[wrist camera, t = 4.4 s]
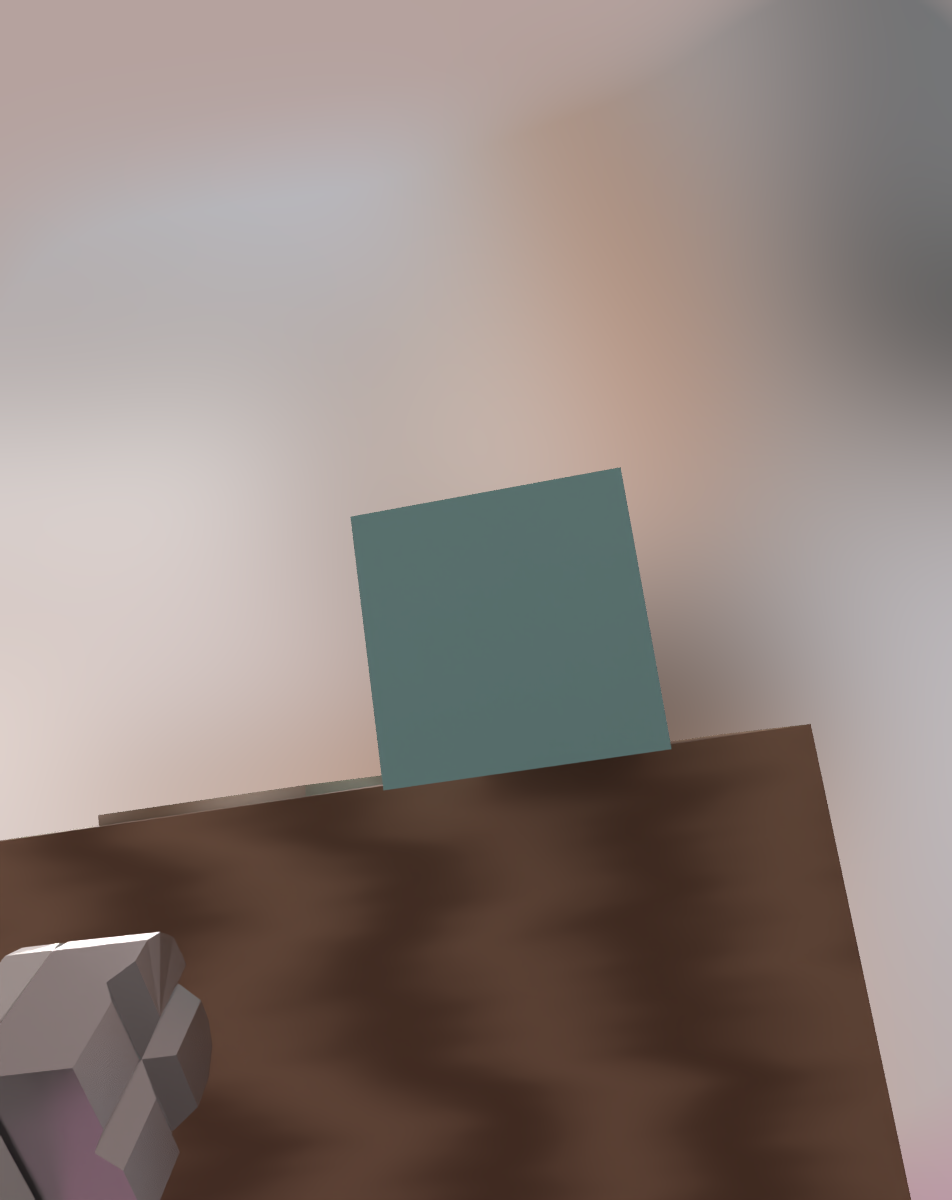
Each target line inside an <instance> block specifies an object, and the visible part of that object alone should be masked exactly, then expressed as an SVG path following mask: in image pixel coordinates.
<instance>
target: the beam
mask: <svg viewBox="0 0 952 1200" xmlns="http://www.w3.org/2000/svg"><path fill="white" fill-rule="evenodd" d="M351 524H352V532H353V540H354V549H355V556H356V565H357V574H358V582H359V591H360V599H361V607H362V615H363V624H364V632H365V641H366V648H367V657H368V666H369V673H370V682H371V691H372V699H373V706H374V716H375V724H376V732H377V740H378V748H379V757H380V765H381V774H382V782H383V790H390V789H397V788H404V787H411V786H418V785H425V784H431V783H438V782H445V781H452V780H459V779H466V778H473V777H480V776H487V775H494V774H501V773H508V772H515V771H522V770H529V769H536V768H543V767H550V766H557V765H564V764H571V763H578V762H585V761H592V760H599V759H606V758H613V757H620V756H627V755H634V754H641V753H648V752H655V751H662V750H669V749H671V744H670V738H669V733H668V727H667V722H666V716H665V711H664V705H663V700H662V694H661V688H660V683H659V678H658V672H657V667H656V661H655V656H654V650H653V645H652V639H651V633H650V628H649V622H648V617H647V611H646V606H645V601H644V595H643V589H642V584H641V579H640V573H639V567H638V562H637V556H636V550H635V545H634V539H633V534H632V528H631V523H630V517H629V512H628V506H627V501H626V495H625V490H624V484H623V479H622V473H621V468H615V469H609V470H604V471H598V472H593V473H588V474H582V475H576V476H571V477H565V478H560V479H554V480H549V481H543V482H538V483H533V484H527V485H522V486H516V487H511V488H505V489H500V490H494V491H489V492H483V493H478V494H472V495H468V496H462V497H457V498H451V499H445V500H440V501H434V502H429V503H423V504H418V505H412V506H407V507H402V508H396V509H391V510H385V511H380V512H374V513H369V514H363V515H358V516H353V517H351Z"/></svg>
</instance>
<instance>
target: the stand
mask: <svg viewBox="0 0 952 1200" xmlns="http://www.w3.org/2000/svg"><path fill="white" fill-rule="evenodd" d="M670 744H671V749H669V750H662V751H655V752H648V753H641V754H634V755H627V756H620V757H613V758H606V759H599V760H592V761H585V762H578V763H571V764H564V765H557V766H550V767H543V768H536V769H529V770H522V771H515V772H508V773H501V774H494V775H487V776H480V777H473V778H466V779H459V780H452V781H445V782H438V783H431V784H425V785H418V786H411V787H404V788H397V789H390V790H383V782H382V776H376V777H368V778H359V779H351V780H343V781H335V782H327V783H319V784H311V785H303V786H296V787H290V788H283V789H276V790H269V791H263V792H256V793H248V794H242V795H235V796H228V797H221V798H214V799H207V800H200V801H194V802H187V803H180V804H173V805H166V806H160V807H153V808H145V809H138V810H132V811H125V812H118V813H111V814H104V815H99V816H98V818H99V826H92V827H86V828H79V829H73V830H66V831H60V832H54V833H47V834H40V835H34V836H27V837H21V838H14V839H8V840H1V841H0V962H1V961H2V959H3V958H4V957H5V956H6V955H8V954H10V953H12V952H14V951H16V950H19V949H21V948H24V947H32V946H41V945H49V944H57V943H67V942H71V941H80V940H89V939H99V938H108V937H117V936H127V935H136V934H145V933H155V932H162V933H164V934H167V935H169V936H172V937H174V939H175V941H176V943H177V945H178V947H179V949H180V952H181V954H182V956H183V958H184V960H185V962H186V966H185V969H184V971H183V974H182V976H181V979H180V982H179V984H180V985H181V986H182V987H184V988H185V989H186V990H188V991H189V992H191V993H192V994H193V995H195V996H196V997H197V998H199V999H200V1000H201V1002H202V1004H203V1007H204V1009H205V1012H206V1015H207V1017H208V1020H209V1026H210V1032H211V1039H212V1053H211V1062H210V1071H209V1079H208V1081H207V1084H206V1087H205V1089H204V1092H203V1095H202V1097H201V1100H200V1103H199V1105H198V1107H197V1108H196V1109H195V1110H194V1111H193V1112H192V1113H191V1114H190V1115H189V1116H188V1117H187V1118H186V1119H185V1120H184V1121H183V1122H182V1123H181V1124H180V1125H179V1126H178V1127H177V1128H175V1129H174V1130H173V1133H174V1136H175V1139H176V1142H177V1145H178V1149H179V1152H180V1153H179V1155H178V1157H177V1160H176V1162H175V1165H174V1167H173V1170H172V1172H171V1175H170V1177H169V1180H168V1182H167V1184H166V1187H165V1189H164V1192H163V1194H162V1197H161V1199H160V1200H911V1197H910V1193H909V1188H908V1184H907V1178H906V1174H905V1169H904V1164H903V1159H902V1155H901V1150H900V1145H899V1141H898V1136H897V1131H896V1126H895V1122H894V1117H893V1112H892V1108H891V1103H890V1098H889V1093H888V1088H887V1084H886V1079H885V1074H884V1070H883V1065H882V1060H881V1055H880V1051H879V1046H878V1041H877V1036H876V1032H875V1027H874V1023H873V1017H872V1013H871V1008H870V1003H869V998H868V994H867V989H866V984H865V980H864V975H863V970H862V965H861V961H860V956H859V951H858V946H857V942H856V937H855V932H854V927H853V923H852V918H851V913H850V909H849V904H848V899H847V894H846V890H845V885H844V880H843V876H842V871H841V867H840V862H839V856H838V852H837V847H836V843H835V838H834V833H833V829H832V823H831V819H830V814H829V809H828V804H827V800H826V795H825V790H824V785H823V781H822V776H821V772H820V767H819V762H818V757H817V752H816V748H815V743H814V738H813V734H812V729H811V724H807V725H799V726H790V727H782V728H773V729H765V730H755V731H746V732H738V733H729V734H720V735H713V736H706V737H700V738H692V739H685V740H679V741H671V742H670Z"/></svg>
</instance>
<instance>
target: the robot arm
mask: <svg viewBox="0 0 952 1200" xmlns="http://www.w3.org/2000/svg"><path fill="white" fill-rule="evenodd" d="M185 966H186V962H185V960H184V958H183V956H182V954H181V952H180V949H179V947H178V945H177V943H176V941H175V939H174V937H172V936H169V935H167V934H164V933H162V932H155V933H145V934H136V935H127V936H117V937H108V938H99V939H89V940H80V941H71V942H67V943H57V944H49V945H41V946H32V947H24V948H21V949H19V950H16V951H14V952H12V953H10V954H8V955H6V956H5V957H4V958H3V959H2V961H1V962H0V1200H160V1199H161V1197H162V1194H163V1192H164V1189H165V1187H166V1184H167V1182H168V1180H169V1177H170V1175H171V1172H172V1170H173V1167H174V1165H175V1162H176V1160H177V1157H178V1155H179V1153H180V1152H179V1149H178V1145H177V1142H176V1139H175V1136H174V1133H173V1130H174V1129H175V1128H177V1127H178V1126H179V1125H180V1124H181V1123H182V1122H183V1121H184V1120H185V1119H186V1118H187V1117H188V1116H189V1115H190V1114H191V1113H192V1112H193V1111H194V1110H195V1109H196V1108H197V1107H198V1105H199V1103H200V1100H201V1097H202V1095H203V1092H204V1089H205V1087H206V1084H207V1081H208V1079H209V1071H210V1062H211V1053H212V1039H211V1032H210V1026H209V1020H208V1017H207V1015H206V1012H205V1009H204V1007H203V1004H202V1002H201V1000H200V999H199V998H197V997H196V996H195V995H193V994H192V993H191V992H189V991H188V990H186V989H185V988H184V987H182V986H181V985H180V984H179V982H180V979H181V976H182V974H183V971H184V969H185Z"/></svg>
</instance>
